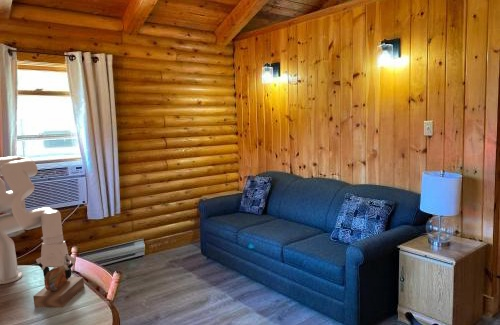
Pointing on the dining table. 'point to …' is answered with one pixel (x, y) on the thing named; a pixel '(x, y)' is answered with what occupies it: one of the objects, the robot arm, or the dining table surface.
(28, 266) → the dining table surface
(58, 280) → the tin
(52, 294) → the walnut block
